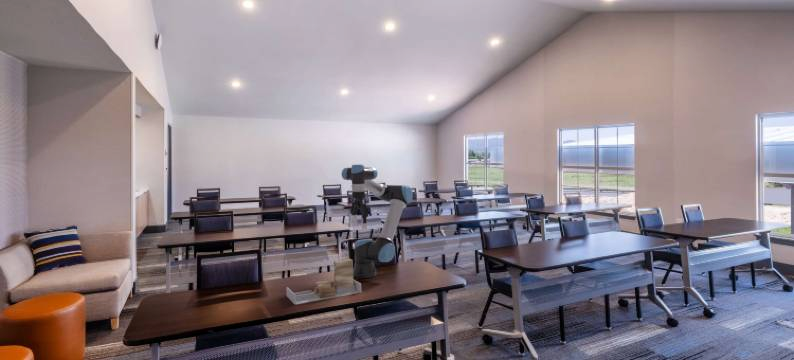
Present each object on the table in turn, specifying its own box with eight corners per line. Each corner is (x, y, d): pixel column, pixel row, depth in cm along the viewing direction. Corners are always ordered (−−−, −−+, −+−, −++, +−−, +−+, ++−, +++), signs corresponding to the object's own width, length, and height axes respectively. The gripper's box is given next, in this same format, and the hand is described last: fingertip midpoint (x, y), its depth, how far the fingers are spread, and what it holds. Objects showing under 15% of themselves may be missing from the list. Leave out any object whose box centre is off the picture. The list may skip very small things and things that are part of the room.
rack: (286, 298, 234) (286, 287, 233) (350, 287, 251) (350, 277, 251) (294, 306, 220) (294, 295, 219) (361, 294, 237) (361, 283, 237)
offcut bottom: (313, 292, 239) (313, 289, 239) (327, 290, 242) (327, 286, 242) (320, 298, 228) (320, 294, 228) (335, 295, 232) (335, 292, 232)
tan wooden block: (334, 291, 240) (333, 261, 239) (351, 288, 245) (350, 258, 244) (336, 293, 237) (335, 262, 236) (353, 290, 242) (352, 260, 241)
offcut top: (315, 285, 238) (315, 281, 238) (327, 283, 241) (327, 280, 241) (319, 289, 230) (319, 286, 230) (331, 288, 232) (330, 284, 232)
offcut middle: (315, 289, 237) (314, 286, 237) (327, 287, 241) (327, 283, 241) (322, 294, 228) (322, 290, 228) (335, 292, 232) (335, 288, 232)
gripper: (344, 190, 259) (345, 225, 260) (361, 192, 237) (362, 231, 238) (356, 189, 262) (356, 224, 263) (373, 191, 240) (374, 229, 241)
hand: (359, 227), depth 251 cm, fingers open, 13 cm apart
